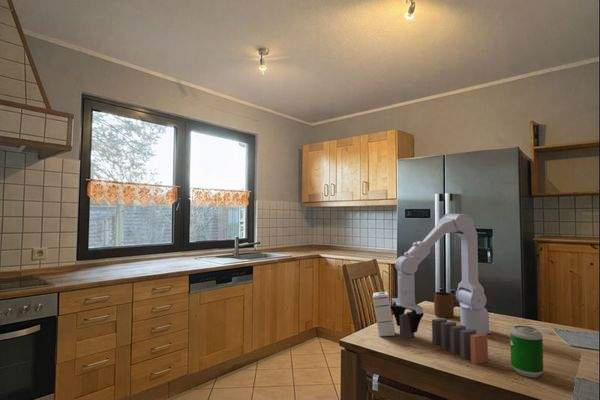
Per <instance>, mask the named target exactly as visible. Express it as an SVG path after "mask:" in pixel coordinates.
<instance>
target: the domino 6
mask: <svg viewBox="0 0 600 400" xmlns="http://www.w3.org/2000/svg"><path fill="white" fill-rule="evenodd" d="M488 342H489V341H488V333H487V334H484V333H479V334H474V335H470V343H471V358H470V363H471V364H473V365H479V364H484V363H488V362H489V356H488V355H489V348H488Z"/></svg>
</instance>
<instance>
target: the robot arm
mask: <svg viewBox="0 0 600 400" xmlns="http://www.w3.org/2000/svg"><path fill="white" fill-rule="evenodd" d="M449 233H454V234H455V235H457V237H459V238H460V240H461V241H460V245H461V247H460V248H461V253H460V254H461V259H460V260H461V281H460V282H459V283H457V290H456V292H455V294H456V301H457V302H458V301H459V304H460V306H459V307H460V311H459V312H460V325H463V326H466V330H468V329H474V330H476V334H479V333H484V334H487V335H488V334H491V333H492V331H491V330H490V316H489V315H490V314H489V311H488V309H487V308H485V306H486V304H487V297H486V295H485V288H484V287H483V286H482V284H481V283H480V281H479V258H478V257H479V254H478V253H479V252H478V249H479V248H478V247H479V246H478V245H479V244H478V242H479V241H478V232H477V229H476V227H475V225H474V219H473V218H472V217H471V216H470V215H468V214H467V213H450V212H449V213H448V212H447V213H446V214H444V215H443V216H442V217H441V218H440V219H439V220H438V222H437V224H436V225H435V226H434V228H433V229H432V230H431V231H430V232H429V233H428V234H427V235H426V236H425V237H424V239H423V240H421V241H420V240H418V241H416V242H415V241H414V242H412V246H411V247H410V248H409V249H408V250H407V251H405V252H404V253H403V255H401V256H399V257H398V258H396V260H395V261H396V262H395V263H394V269H396V271H397V297H394V298H393V297H392V298H391V304H392V305H390V306H391V311H392V314H393V315H394V318H395V322H396V326H397V327H400V315H401V314H405V311H406V309H407V310H410V311H409V312H408V311H407V312H406V314H407V315H408V318H409V322H410V330H411V333H414V334H415V333H418V329H419V325H420V322H421V321H422V318H423V317H424V315H425V313H424V312H423V307H421V306H420V305H418V303H416V297H415V296H416V294H415V293H416V292H415V291H416V289H415V288H416V287H415V273H416V272H417V271H418V268H419V265H420V264H421V262H423V260H424V259H426V257H427V256H428V255H430V254H431V247H433V245H435V244H436V243H437V242H438V241H439V240H440V239H441V238H442V237H444V236H445V235H446V234H449Z"/></svg>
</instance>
